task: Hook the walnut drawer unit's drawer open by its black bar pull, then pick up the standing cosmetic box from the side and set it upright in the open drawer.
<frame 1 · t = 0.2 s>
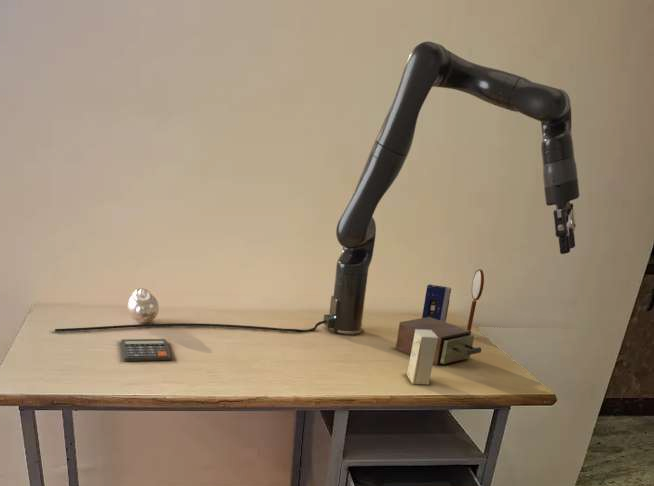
hand: (568, 250, 173), 31 cm above the table, tool tilted 20°, fingers open, 8 cm apart
silver rounded lump: (143, 323, 204), on the table
cabinet: (430, 353, 195), on the table
calculator: (145, 351, 182), on the table
drawer: (445, 344, 190), point 4 cm above the table, slide at 0.5 cm
cassette player: (432, 324, 221), on the table
magnifying glass: (466, 338, 211), on the table
cosmetic box: (418, 381, 176), on the table
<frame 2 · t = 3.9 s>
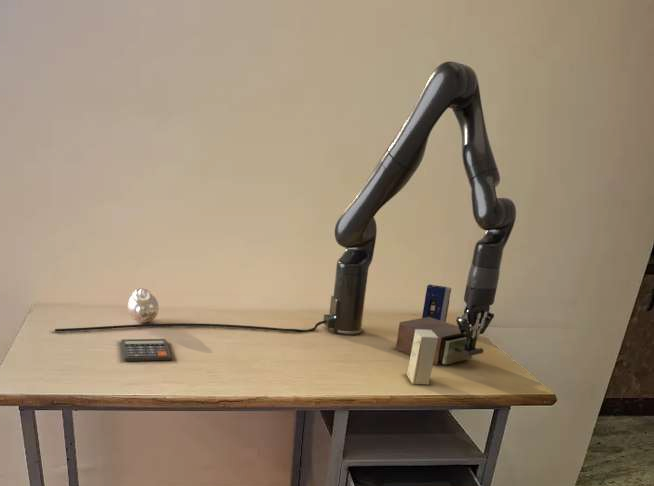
hand: (469, 350, 185), 5 cm above the table, tool pointing down, fingers closed
drawer: (447, 345, 190), point 4 cm above the table, slide at 1.1 cm
everything else where it was.
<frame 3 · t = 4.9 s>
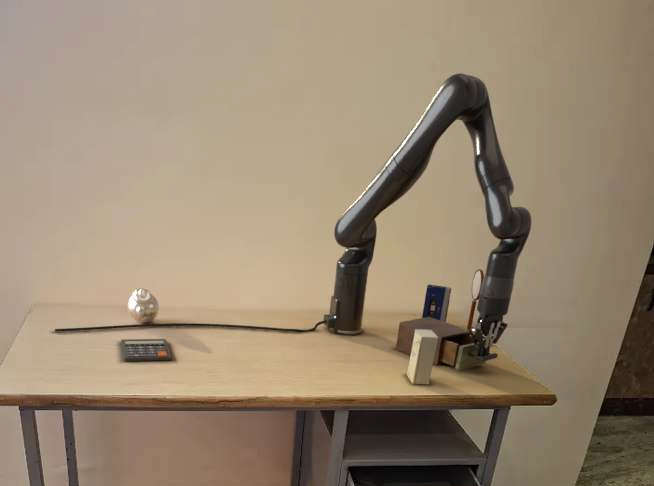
hand: (481, 360, 182), 3 cm above the table, tool pointing down, fingers closed
drawer: (460, 350, 187), point 4 cm above the table, slide at 5.7 cm, touching gripper
everything else where it was.
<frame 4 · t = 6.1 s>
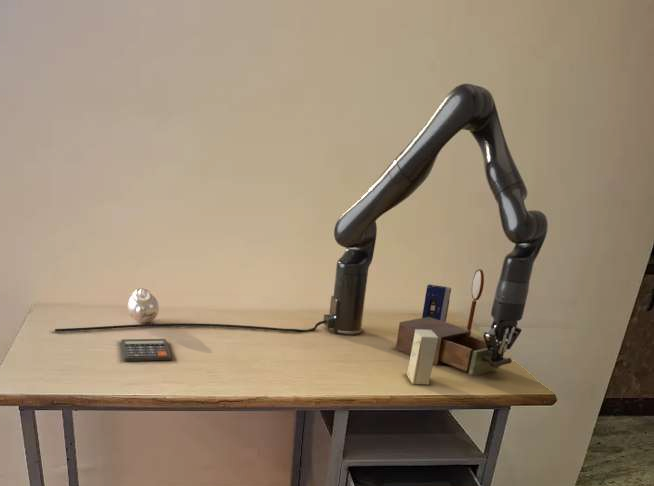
hand: (495, 366, 179), 3 cm above the table, tool pointing down, fingers closed
drawer: (473, 355, 184), point 4 cm above the table, slide at 10.1 cm, touching gripper
everything else where it was.
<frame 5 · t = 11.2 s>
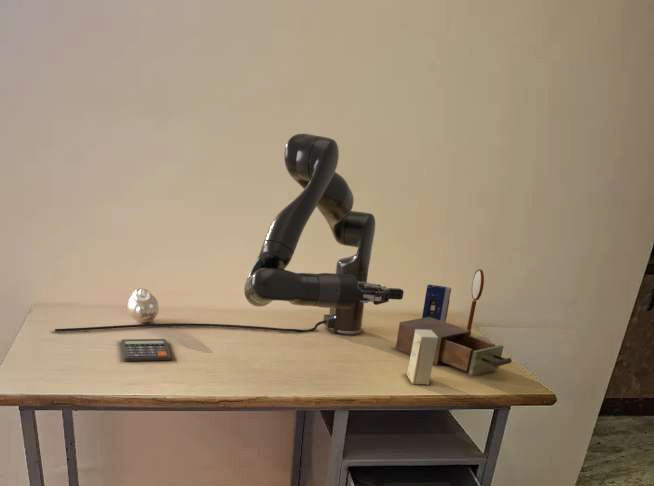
hand: (401, 294, 163), 21 cm above the table, tool horizontal, fingers closed
drawer: (473, 355, 184), point 4 cm above the table, slide at 10.1 cm
everything else where it was.
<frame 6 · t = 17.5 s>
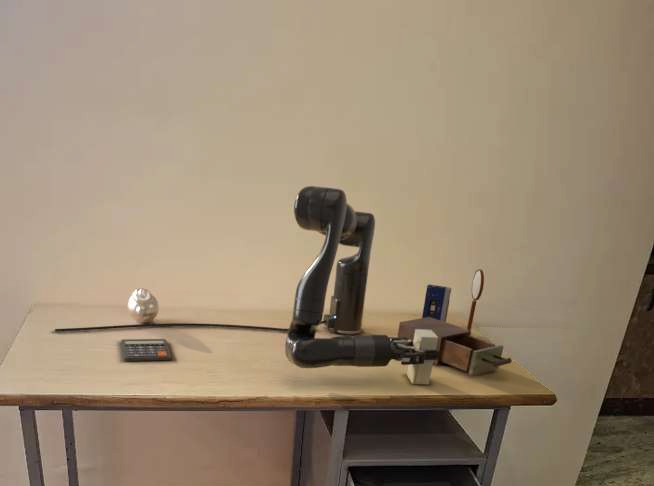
hand: (431, 350, 172), 8 cm above the table, tool horizontal, fingers closed on cosmetic box, 6 cm apart
cosmetic box: (418, 381, 176), on the table, touching gripper
everything else where it was.
when the fingers open (10 cm above the table, at t = 26.4 s): cosmetic box stays where it is, resting on drawer.
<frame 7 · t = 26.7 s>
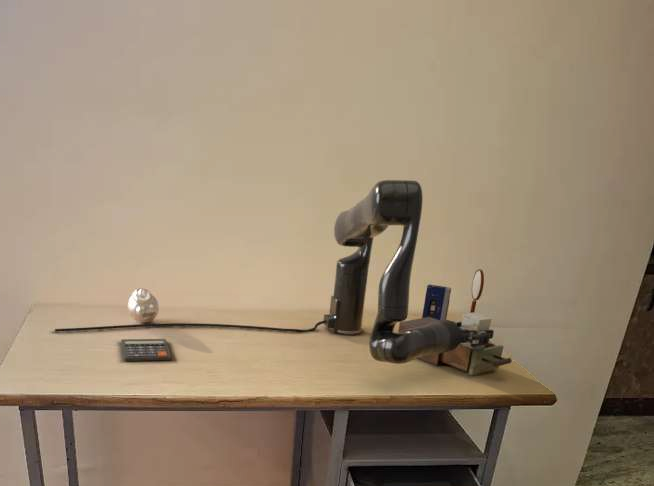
hand: (478, 329, 182), 10 cm above the table, tool horizontal, fingers open, 8 cm apart
drawer: (473, 355, 184), point 4 cm above the table, slide at 10.1 cm, touching cosmetic box
cosmetic box: (467, 362, 186), point 2 cm above the table, touching drawer
everything else where it was.
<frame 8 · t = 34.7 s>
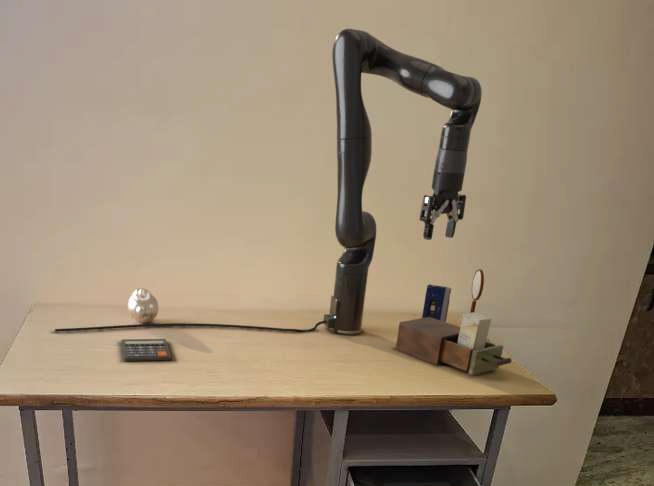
hand: (438, 238, 182), 30 cm above the table, tool pointing down, fingers open, 8 cm apart
nothing on the table moved.
at the end: drawer slide at 10.0 cm; cosmetic box 0.1 cm from the target spot in the drawer, point 1.6 cm above the cabinet's base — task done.
